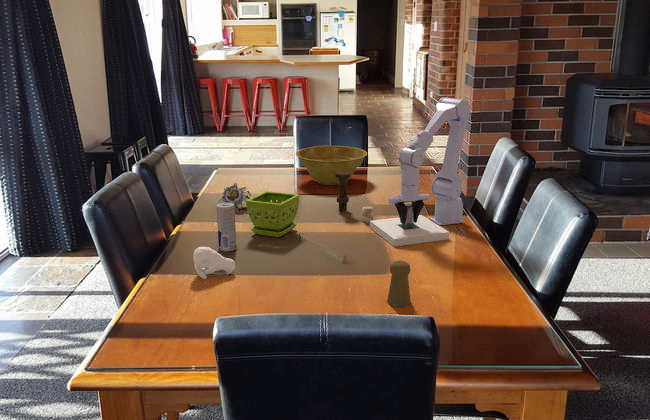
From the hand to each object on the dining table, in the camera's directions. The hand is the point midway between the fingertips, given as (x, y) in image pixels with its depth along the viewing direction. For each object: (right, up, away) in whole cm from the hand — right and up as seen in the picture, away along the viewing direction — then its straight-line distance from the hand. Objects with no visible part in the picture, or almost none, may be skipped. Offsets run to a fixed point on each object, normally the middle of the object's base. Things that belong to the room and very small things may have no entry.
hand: (408, 222), depth 204 cm
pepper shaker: (-9, -20, -49) cm, 54 cm away
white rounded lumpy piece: (-60, -15, -31) cm, 69 cm away
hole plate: (0, -4, +1) cm, 4 cm away
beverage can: (-60, -9, -12) cm, 61 cm away
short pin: (-13, 0, +14) cm, 19 cm away
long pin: (0, -3, +1) cm, 3 cm away
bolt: (-22, +4, +26) cm, 34 cm away
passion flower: (-63, +5, +31) cm, 70 cm away
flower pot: (-46, -4, +3) cm, 46 cm away
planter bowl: (-26, +17, +70) cm, 76 cm away
